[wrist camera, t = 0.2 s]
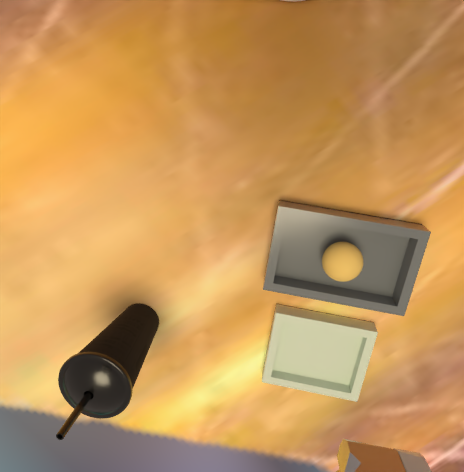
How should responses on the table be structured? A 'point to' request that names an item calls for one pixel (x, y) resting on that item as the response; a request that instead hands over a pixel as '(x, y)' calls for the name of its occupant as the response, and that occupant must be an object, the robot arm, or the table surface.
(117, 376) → the drinking cup
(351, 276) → the ball
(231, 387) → the table surface
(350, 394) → the tray
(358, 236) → the dish
